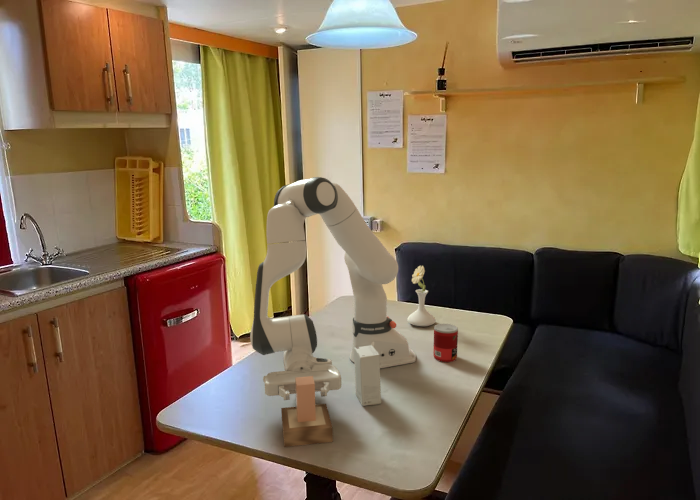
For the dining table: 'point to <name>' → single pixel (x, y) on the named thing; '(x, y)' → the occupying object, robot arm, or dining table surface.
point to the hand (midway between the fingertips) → (305, 395)
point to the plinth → (306, 427)
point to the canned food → (445, 342)
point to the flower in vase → (420, 302)
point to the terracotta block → (305, 399)
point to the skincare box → (367, 375)
